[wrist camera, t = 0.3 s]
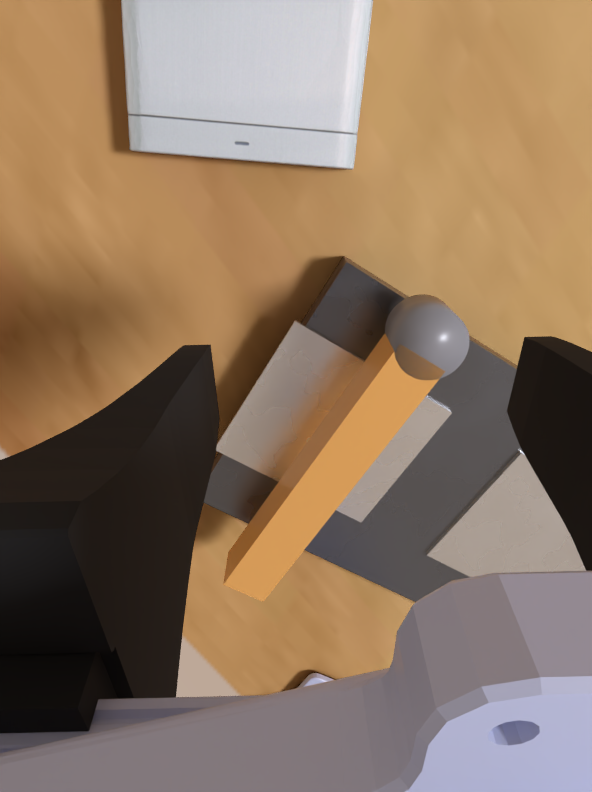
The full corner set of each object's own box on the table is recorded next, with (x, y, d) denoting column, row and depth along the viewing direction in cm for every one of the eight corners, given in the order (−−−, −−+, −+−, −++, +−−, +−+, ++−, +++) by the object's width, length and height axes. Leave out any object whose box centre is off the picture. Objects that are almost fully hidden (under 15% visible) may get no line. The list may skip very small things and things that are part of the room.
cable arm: (412, 281, 19) (424, 295, 17) (467, 316, 20) (484, 334, 18) (222, 549, 24) (217, 581, 23) (270, 571, 25) (269, 604, 23)
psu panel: (555, 653, 31) (574, 689, 29) (189, 479, 26) (181, 508, 24) (739, 499, 27) (777, 529, 24) (337, 242, 21) (342, 253, 19)
